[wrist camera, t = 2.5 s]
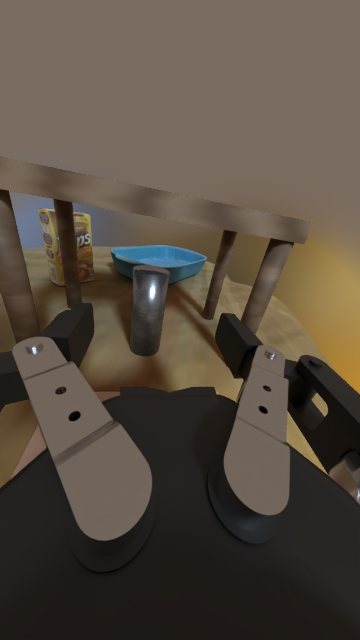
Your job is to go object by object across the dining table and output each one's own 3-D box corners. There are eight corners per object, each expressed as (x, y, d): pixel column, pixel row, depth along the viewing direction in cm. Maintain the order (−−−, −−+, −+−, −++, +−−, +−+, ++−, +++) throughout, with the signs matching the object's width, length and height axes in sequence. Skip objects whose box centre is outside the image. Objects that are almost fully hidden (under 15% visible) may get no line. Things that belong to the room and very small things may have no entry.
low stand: (13, 367, 22) (-65, 143, 13) (69, 302, 38) (53, 179, 28) (246, 371, 28) (313, 222, 19) (212, 314, 44) (239, 216, 34)
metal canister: (128, 355, 27) (131, 273, 21) (131, 337, 31) (134, 263, 25) (159, 356, 28) (171, 277, 22) (158, 338, 32) (168, 267, 26)
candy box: (60, 287, 43) (48, 210, 36) (50, 281, 45) (37, 206, 37) (94, 280, 50) (91, 214, 42) (84, 276, 51) (79, 212, 44)
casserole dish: (154, 296, 48) (157, 268, 44) (95, 272, 56) (93, 247, 53) (210, 274, 77) (215, 256, 73) (165, 260, 85) (168, 243, 82)
